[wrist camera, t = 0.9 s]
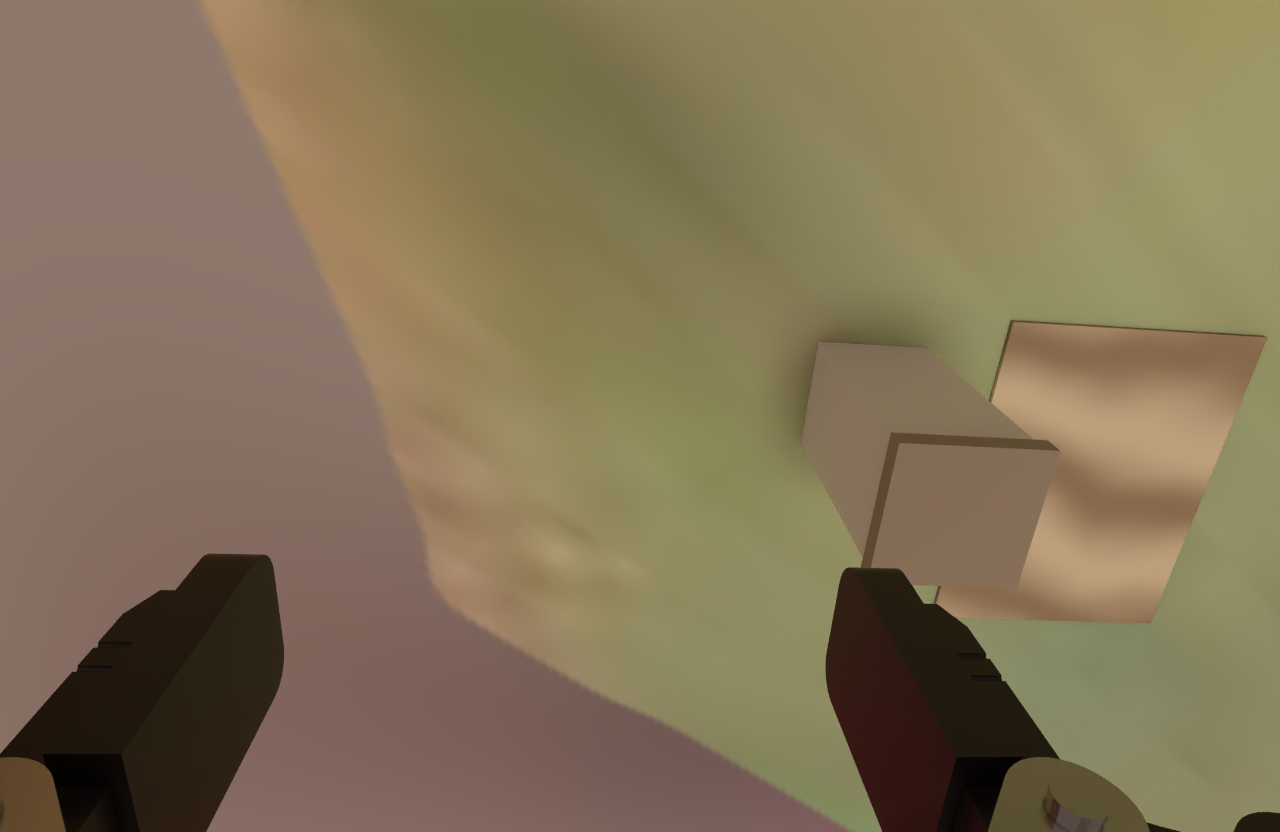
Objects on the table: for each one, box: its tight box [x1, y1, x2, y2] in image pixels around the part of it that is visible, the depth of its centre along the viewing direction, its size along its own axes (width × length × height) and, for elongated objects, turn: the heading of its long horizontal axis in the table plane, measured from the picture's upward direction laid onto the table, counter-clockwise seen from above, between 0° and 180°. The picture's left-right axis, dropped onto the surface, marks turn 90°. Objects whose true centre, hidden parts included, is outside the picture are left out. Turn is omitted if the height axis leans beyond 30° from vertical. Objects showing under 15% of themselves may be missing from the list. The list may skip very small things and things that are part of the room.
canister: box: [801, 342, 1060, 588], centre depth 32 cm, size 5×5×11 cm
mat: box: [934, 321, 1267, 623], centre depth 39 cm, size 16×12×1 cm
